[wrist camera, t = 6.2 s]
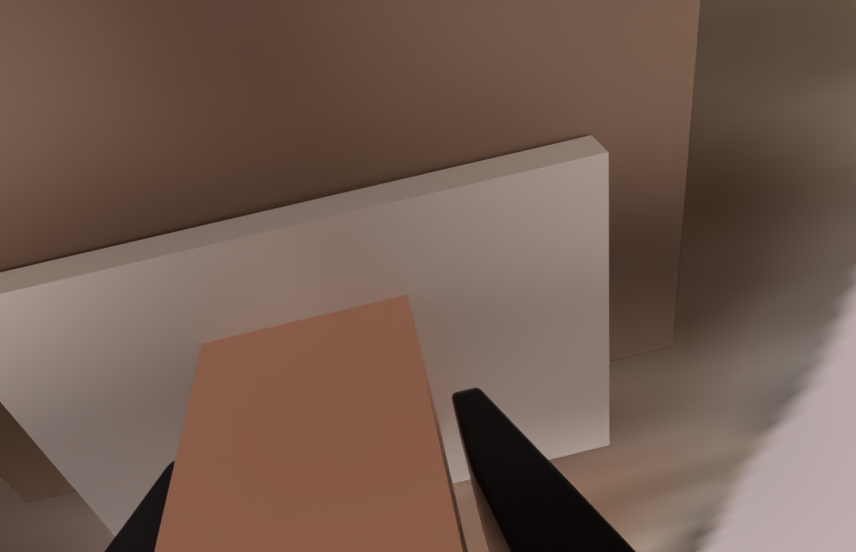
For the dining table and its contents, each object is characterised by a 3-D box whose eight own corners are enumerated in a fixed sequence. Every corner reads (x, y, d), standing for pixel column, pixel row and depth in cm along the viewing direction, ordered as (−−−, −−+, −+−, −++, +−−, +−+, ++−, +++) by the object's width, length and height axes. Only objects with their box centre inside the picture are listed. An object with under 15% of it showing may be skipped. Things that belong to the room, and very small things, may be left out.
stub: (597, 420, 12) (773, 769, 7) (143, 531, 12) (35, 962, 7) (591, 134, 8) (916, 458, 4) (-53, 284, 8) (-506, 815, 4)
